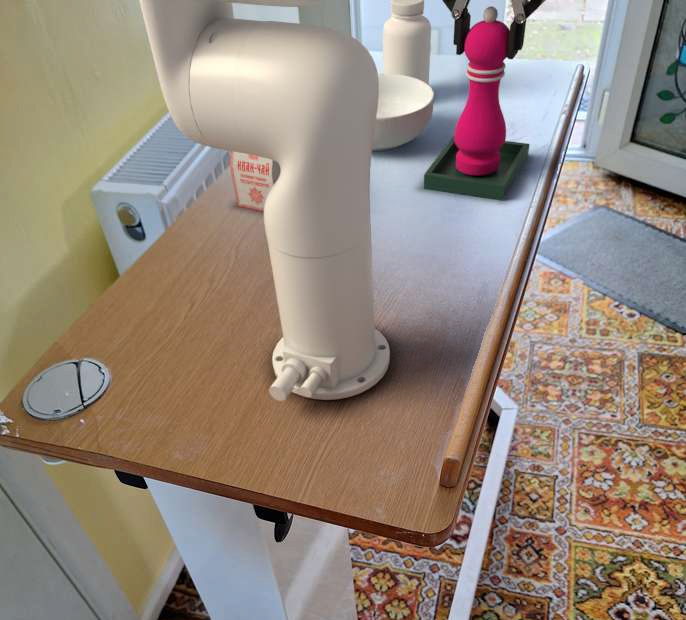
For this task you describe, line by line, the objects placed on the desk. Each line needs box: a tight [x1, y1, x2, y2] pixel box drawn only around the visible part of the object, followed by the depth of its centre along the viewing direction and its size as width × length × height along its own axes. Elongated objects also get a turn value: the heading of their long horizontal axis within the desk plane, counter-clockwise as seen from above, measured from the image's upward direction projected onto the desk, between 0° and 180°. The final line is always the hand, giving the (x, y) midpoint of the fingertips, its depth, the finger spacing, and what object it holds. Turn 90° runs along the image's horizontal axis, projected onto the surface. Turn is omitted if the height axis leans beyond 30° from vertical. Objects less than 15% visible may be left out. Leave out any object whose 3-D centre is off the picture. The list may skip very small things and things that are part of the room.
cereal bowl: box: [372, 73, 435, 152], centre depth 105 cm, size 17×17×7 cm
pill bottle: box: [382, 0, 432, 86], centre depth 113 cm, size 8×8×15 cm
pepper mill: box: [453, 6, 510, 176], centre depth 90 cm, size 7×7×20 cm
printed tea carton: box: [229, 151, 281, 212], centre depth 93 cm, size 4×7×10 cm, turn 63°
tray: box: [423, 135, 531, 201], centre depth 98 cm, size 14×12×2 cm
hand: (487, 52), depth 87 cm, fingers closed on pepper mill, 6 cm apart
